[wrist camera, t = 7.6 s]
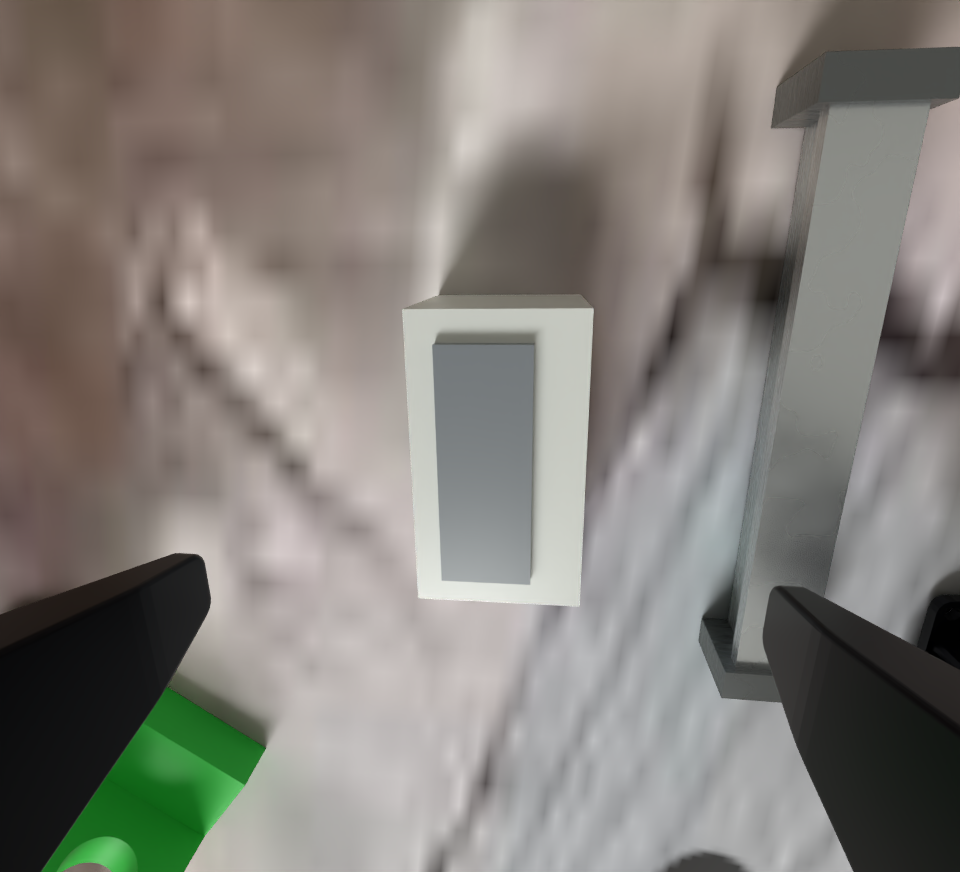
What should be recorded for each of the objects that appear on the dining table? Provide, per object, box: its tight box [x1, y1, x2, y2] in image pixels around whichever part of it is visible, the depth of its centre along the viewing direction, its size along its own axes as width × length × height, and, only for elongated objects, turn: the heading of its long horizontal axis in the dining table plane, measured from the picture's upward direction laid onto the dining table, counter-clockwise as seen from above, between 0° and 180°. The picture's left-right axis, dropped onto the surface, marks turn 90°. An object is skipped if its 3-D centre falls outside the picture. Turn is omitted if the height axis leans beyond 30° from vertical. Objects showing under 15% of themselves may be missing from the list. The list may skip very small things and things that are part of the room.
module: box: [402, 294, 594, 607], centre depth 17 cm, size 5×8×5 cm, turn 1°
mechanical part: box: [42, 687, 266, 872], centre depth 22 cm, size 12×6×8 cm, turn 55°
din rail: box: [699, 47, 960, 703], centre depth 17 cm, size 3×18×3 cm, turn 0°
